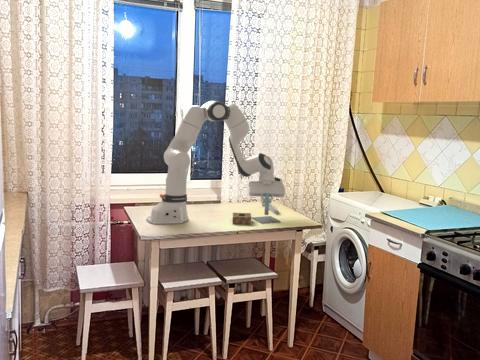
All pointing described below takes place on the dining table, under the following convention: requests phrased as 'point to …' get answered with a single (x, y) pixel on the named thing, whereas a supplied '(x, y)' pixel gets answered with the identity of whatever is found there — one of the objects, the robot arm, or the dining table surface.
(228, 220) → the dining table surface
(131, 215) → the dining table surface
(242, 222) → the slot holder
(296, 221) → the dining table surface
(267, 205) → the scraper tool
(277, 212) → the wrench
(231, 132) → the robot arm
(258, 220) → the rubber mat
